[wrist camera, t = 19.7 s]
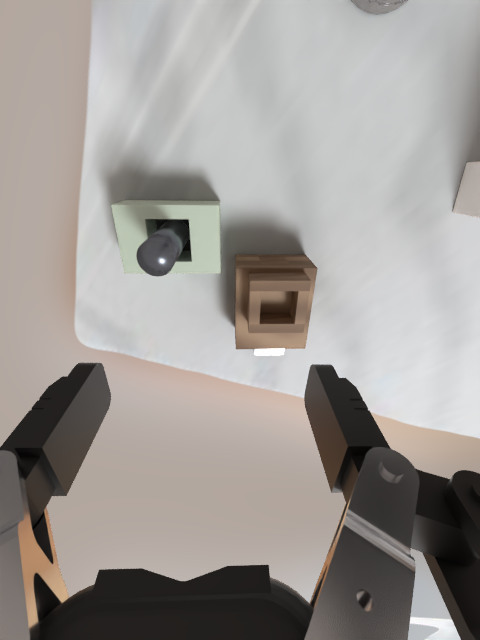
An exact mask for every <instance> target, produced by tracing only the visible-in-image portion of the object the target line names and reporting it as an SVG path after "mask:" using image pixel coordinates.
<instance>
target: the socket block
mask: <svg viewBox="0 0 480 640" xmlns="http://www.w3.org/2000/svg"><path fill="white" fill-rule="evenodd" d="M316 274H317V267H316V266H315V265H314V264H313V263H312V262H311V260H310V259H309V258H308V257H307V256H306V255H235V338H236V349H294V348H305V346H306V340H307V333H308V326H309V320H310V313H311V307H312V300H313V294H314V287H315V280H316Z"/></svg>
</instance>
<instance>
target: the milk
mask: <svg viewBox="0 0 480 640" xmlns="http://www.w3.org/2000/svg"><path fill="white" fill-rule="evenodd" d="M453 213H457V214H462V215H467V216H472V217H477V218H480V161H477V162H467V163H466V167H465V170H464V174H463V177H462V181H461V184H460V188H459V191H458V195H457V198H456V202H455V205H454V209H453Z"/></svg>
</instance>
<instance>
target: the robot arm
mask: <svg viewBox="0 0 480 640" xmlns="http://www.w3.org/2000/svg"><path fill="white" fill-rule="evenodd" d="M351 1H352V2H353V3H354V4H355V5H356V6H357V7H358V8H360V9H362V10H364V11H365V12H367V13H372V14H383V13H388V12H390V11H393V10H395V9H397V8H398V7H400V6H401V5H403V4H404V3H406V2H407V1H408V0H351ZM110 400H111V393H110V389H109V385H108V382H107V378H106V375H105V371H104V367H103V365H102V364H101V363H78V364H77V365H76V366H75V367H74V369H73V370H72V371H71V373H70V374H69V375H68V377H61V378H60V379H59V380H57V381H56V382H54V383H53V384H52V385H50V386H49V387H48V388H47V389H46V391H45V392H44V393H43V394H42V396H41V397H40V400H39V401H37V402H36V403H35V404H34V406H33V407H32V410H31V411H29V412H28V413H27V414H26V416H25V417H24V418H23V420H22V421H21V422H20V423H19V425H18V426H17V427H16V428H15V430H14V431H13V432H12V433H11V435H10V436H9V437H8V438H7V440H6V441H5V442H4V443H3V445H2V446H1V447H0V640H407V639H408V630H409V622H410V613H411V605H412V597H413V588H414V580H415V560H414V558H413V557H411V555H410V548H412V549H415V550H418V551H420V552H422V553H423V555H424V557H425V559H426V561H427V564H428V566H429V568H430V571H431V573H432V575H433V577H434V580H435V582H436V584H437V586H438V589H439V591H440V593H441V595H442V598H443V600H444V602H445V604H446V607H447V609H448V611H449V613H450V615H451V618H452V620H453V622H454V625H455V627H456V629H457V631H458V634H459V636H460V638H461V640H480V474H479V473H476V472H473V471H467V470H462V471H458V472H456V473H455V474H454V475H453V476H452V478H451V479H447V478H443V477H440V476H437V475H433V474H429V473H426V472H423V471H420V470H417V469H415V468H414V466H413V465H412V464H411V462H410V461H409V460H408V459H407V458H405V457H404V456H403V455H401V454H400V453H398V452H396V451H394V450H392V449H391V448H390V447H389V445H388V443H387V442H386V440H385V438H384V436H383V434H382V433H381V431H380V429H379V427H378V425H377V424H376V422H375V420H374V418H373V417H372V415H371V413H370V411H368V408H367V406H366V404H365V402H364V401H363V399H362V397H361V395H360V393H359V391H358V390H357V388H356V387H355V386H354V385H353V384H352V383H351V382H350V381H348V380H347V379H346V378H339V377H338V375H337V373H336V371H335V369H334V367H333V366H332V365H311V367H310V370H309V375H308V380H307V385H306V390H305V408H306V411H307V415H308V418H309V421H310V424H311V428H312V431H313V434H314V437H315V441H316V444H317V447H318V450H319V454H320V457H321V460H322V463H323V467H324V470H325V473H326V476H327V480H328V483H329V486H330V489H331V492H332V493H334V492H335V493H337V492H343V495H344V498H345V501H346V504H345V506H344V509H343V512H342V515H341V518H340V520H339V524H338V526H337V529H336V532H335V535H334V537H333V540H332V543H331V546H330V549H329V552H328V554H327V557H326V560H325V563H324V566H323V568H322V571H321V573H320V576H319V579H318V581H317V584H316V587H315V590H314V593H313V595H312V598H311V601H310V604H309V603H308V602H307V601H306V600H305V599H304V598H303V597H302V596H301V595H300V594H298V593H297V592H296V591H295V590H293V589H292V588H290V587H289V586H287V585H286V584H284V583H282V582H280V581H278V580H275V579H273V578H270V576H269V565H249V566H227V567H224V568H221V569H219V570H216V571H213V572H210V573H208V574H205V575H203V576H200V577H197V578H194V579H191V580H189V581H178V580H175V579H172V578H169V577H166V576H163V575H160V574H157V573H154V572H151V571H148V570H144V569H108V570H99V572H98V575H97V578H96V582H95V585H92V586H89V587H87V588H85V589H83V590H81V591H79V592H77V593H76V594H74V595H73V596H71V597H70V598H69V595H68V592H67V589H66V585H65V583H64V580H63V578H62V575H61V572H60V569H59V565H58V560H57V555H56V550H55V545H54V540H53V535H52V530H51V525H50V520H49V515H48V511H47V508H46V506H47V504H48V502H49V500H50V498H51V496H66V495H67V493H68V491H69V489H70V487H71V485H72V483H73V481H74V479H75V477H76V475H77V473H78V471H79V469H80V467H81V464H82V462H83V460H84V458H85V456H86V454H87V452H88V450H89V448H90V446H91V444H92V442H93V440H94V438H95V436H96V433H97V432H98V429H99V427H100V425H101V423H102V421H103V419H104V417H105V415H106V413H107V411H108V409H109V406H110Z"/></svg>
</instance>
